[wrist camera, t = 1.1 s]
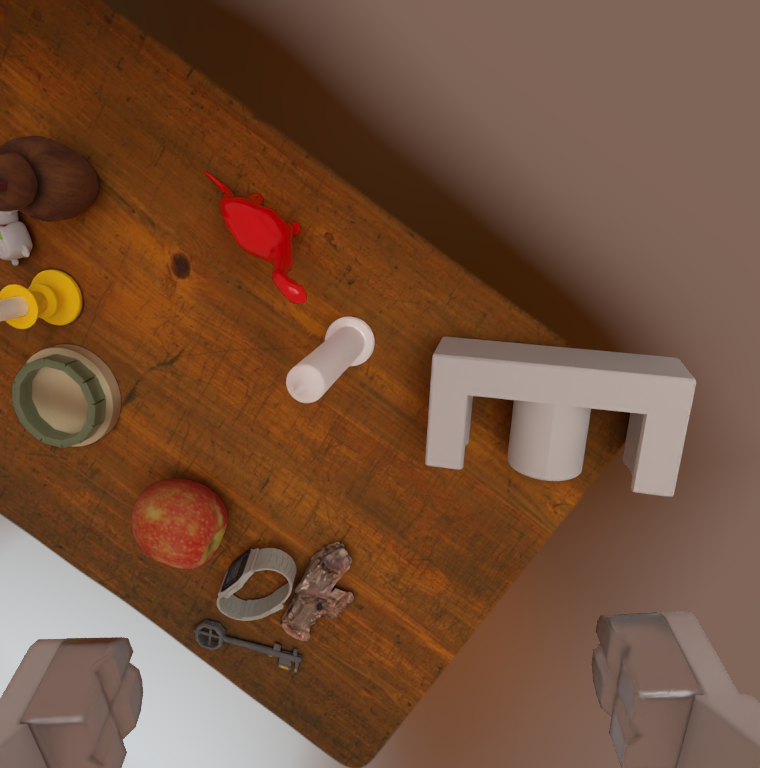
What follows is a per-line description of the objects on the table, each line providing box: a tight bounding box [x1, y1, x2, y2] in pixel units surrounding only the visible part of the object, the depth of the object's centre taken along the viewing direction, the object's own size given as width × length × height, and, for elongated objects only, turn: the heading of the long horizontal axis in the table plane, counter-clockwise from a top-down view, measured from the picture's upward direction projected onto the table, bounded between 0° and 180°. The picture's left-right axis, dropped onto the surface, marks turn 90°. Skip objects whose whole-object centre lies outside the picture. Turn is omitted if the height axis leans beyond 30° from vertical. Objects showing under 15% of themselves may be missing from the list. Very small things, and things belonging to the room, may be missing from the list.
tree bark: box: [281, 542, 354, 642], centre depth 65 cm, size 6×12×2 cm, turn 153°
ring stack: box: [12, 344, 121, 448], centre depth 64 cm, size 10×10×3 cm
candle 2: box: [286, 316, 375, 403], centre depth 51 cm, size 4×4×16 cm
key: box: [193, 619, 303, 673], centre depth 69 cm, size 12×1×3 cm
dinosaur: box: [204, 171, 307, 304], centre depth 51 cm, size 4×15×12 cm, turn 54°
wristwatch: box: [217, 548, 296, 621], centre depth 64 cm, size 9×6×5 cm
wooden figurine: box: [0, 136, 99, 221], centre depth 52 cm, size 7×6×15 cm
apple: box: [132, 479, 228, 569], centre depth 62 cm, size 8×8×8 cm
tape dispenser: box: [425, 336, 696, 497], centre depth 53 cm, size 19×9×6 cm, turn 87°
